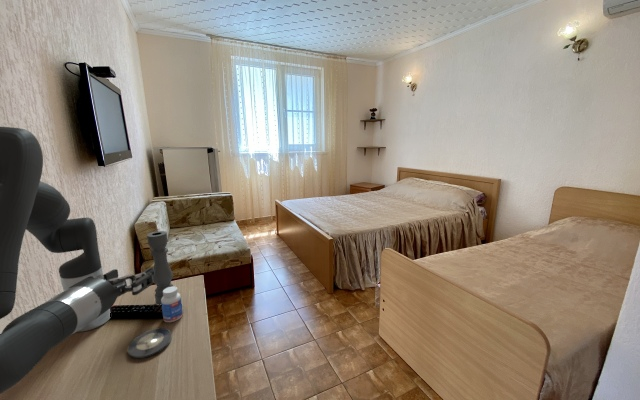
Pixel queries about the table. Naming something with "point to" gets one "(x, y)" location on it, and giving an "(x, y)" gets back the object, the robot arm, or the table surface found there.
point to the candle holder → (160, 263)
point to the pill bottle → (171, 304)
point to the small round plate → (149, 343)
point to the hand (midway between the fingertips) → (134, 272)
